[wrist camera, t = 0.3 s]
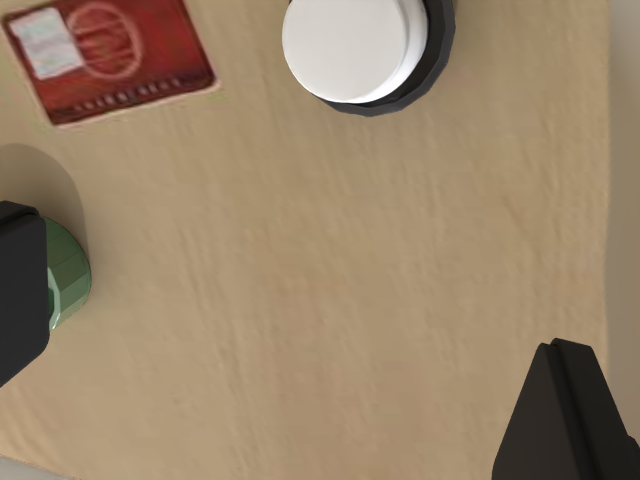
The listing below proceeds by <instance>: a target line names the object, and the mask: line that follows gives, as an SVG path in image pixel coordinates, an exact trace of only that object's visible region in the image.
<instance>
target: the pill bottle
mask: <svg viewBox="0 0 640 480" xmlns="http://www.w3.org/2000/svg"><path fill="white" fill-rule="evenodd" d="M429 27H430V24H429V14H428V10H427V6H426V4H425V1H424V0H292V2H291V3H290V5H289V7H288V10H287V12H286V15H285V18H284V23H283V31H282V42H283V49H284V54H285V58H286V60H287V63H288V65H289V67H290V69H291V71H292V73H293V74H294V76H295V77H296V78H297V80H298V81H299V82H300V83H301V84H302V85H303V86H304V87H305V88H306V89H307V90H309V91H310V92H312V93H313V94H315V95H316V96H319V97H321V98H323V99H326V100H329V101H334V102H350V103H363V102H369V101H373V100H376V99H379V98H381V97H384V96H386V95H387V94H389V93H391V92H392V91H394V90H395V89H396V88H397V87H399V86H400V85H401V84H402V83H403V82H404V81H405V80H406V79H407V77H408V76H409V75H410V74H411V72H412V71H413V69H414V68H415V66H416V65H417V63H418V62H419V61H420V59H421V57H422V55H423V54H424V51H425V49H426V46H427V42H428V38H429Z"/></svg>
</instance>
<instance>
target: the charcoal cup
mask: <svg viewBox="0 0 640 480" xmlns="http://www.w3.org/2000/svg"><path fill="white" fill-rule="evenodd" d="M424 1H425V4H426V6H427V10H428V14H429V24H430V27H429V38H428V42H427V46H426V49H425V51H424V54H423V55H422V57H421V59H420V61H419V62H418V63H417V65H416V66H415V68H414V69H413V71H412V72H411V74H410V75H409V76H408V77H407V79H406V80H405V81H404V82H403V83H402V84H401V85H400V86H399V87H397V88H396V89H395V90H394V91H392V92H391V93H389V94H387V95H386V96H384V97H381V98H379V99H376V100H373V101H369V102H363V103H350V102H334V101H329V100H326V99H323V98H321V97H319V96H316V95H315V94H313V93H312V92H311V93H312V94H313V95H314V96H315V97H317V98H318V99H320V100H321V101H323V102H324V103H326V104H327V105H329V106H330V107H332V108H333V109H335V110H336V111H339V112H343V113H348V114H353V115H358V116H363V117H374V116H379V115H384V114H389V113H393V112H398V111H401V110H402V109H404V108H405V107H407V106H408V105H410V104H411V103H413V102H414V101H416V100H417V99H419V98H420V97H422V96H423V95H425V94H426V93H427V92H428V91H429V90H430V88H431V87H432V85H433V84H434V83H435V81H436V80H437V78H438V77H439V75H440V74H441V72H442V71H443V69H444V68H445V67H446V65H447V63H448V59H449V55H450V51H451V47H452V42H453V38H454V34H455V27H456V26H455V19H454V13H453V6H452V0H424ZM291 2H292V0H290V1H289V5H290V3H291Z"/></svg>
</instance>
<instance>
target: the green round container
mask: <svg viewBox="0 0 640 480" xmlns="http://www.w3.org/2000/svg"><path fill="white" fill-rule="evenodd" d="M40 217H42V216H40ZM42 218H43V219H44V220H45V222H46V233H47V265H48V297H49V329H50V331H52V330H53V329H54V328H56V327H57V326H58V325H59V324H61V323H62V322H63V321H64V320H66V319H67V318H68V317H69V316H71V315H72V314H73V313H74V312H76V311H77V310H78V309H79V308H80V307H81V306H82V305H83V303H84V302H85V300H86V299H87V297H88V294H89V291H90V286H91V273H90V268H89V264H88V261H87V258H86V256H85V254H84V252H83V250H82V249H81V247H80V245H79V244H78V243H77V241H76V240H75V239H74V238H73V237H72V235H71V234H70V233H69V232H67V231H66V230H65V229H64V228H63V227H61V226H60V225H59V224H57V223H55V222H54V221H52V220H50V219H47V218H45V217H42Z"/></svg>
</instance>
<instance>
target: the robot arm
mask: <svg viewBox="0 0 640 480" xmlns="http://www.w3.org/2000/svg"><path fill="white" fill-rule="evenodd" d="M49 336H50V329H49V297H48V265H47V233H46V222H45V220H44V219H43V218H42V217H40V214H39V212H38V210H36V209H35V208H34V207H29V206H25V205H21V204H17V203H13V202H9V201H1V202H0V388H1V387H2V386H3V385H4V384H5V383H7V382H8V381H9V380H10V379H11V378H13V377H14V376H15V375H16V374H17V373H19V372H20V371H21V370H22V369H23V368H25V367H26V366H27V365H28V364H29V363H31V362H32V361H33V360H34V359H35V358H37V357H38V356H39V355H40V354H41V353H42V352H43V351H44V350H45V348H46V346H47V344H48V341H49ZM0 480H81V479H77V478H74V477H71V476H68V475H65V474H61V473H58V472H55V471H52V470H49V469H45V468H42V467H39V466H36V465H33V464H30V463H26V462H23V461H20V460H17V459H14V458H10V457H7V456H4V455H1V454H0ZM492 480H640V447H639V446H638V444H637V442H636V441H635V439H634V438H632V437H631V436H629V435H628V434H627V432H626V429H625V427H624V424H623V422H622V420H621V417H620V415H619V412H618V410H617V407H616V405H615V402H614V400H613V398H612V395H611V393H610V390H609V388H608V385H607V383H606V380H605V378H604V375H603V373H602V371H601V368H600V366H599V363H598V361H597V358H596V356H595V354H594V351H593V349H592V348H591V346H587V345H583V344H579V343H575V342H571V341H567V340H563V339H559V338H555V339H553V340H552V342H551V343H550V345H549V344H545V343H541V344H540V345H539V346H538V348H537V350H536V353H535V355H534V358H533V361H532V363H531V366H530V369H529V371H528V374H527V377H526V379H525V382H524V384H523V387H522V390H521V392H520V395H519V398H518V400H517V403H516V406H515V408H514V411H513V414H512V416H511V419H510V421H509V424H508V427H507V429H506V432H505V435H504V437H503V440H502V443H501V445H500V448H499V450H498V453H497V456H496V458H495V461H494V465H493V470H492Z"/></svg>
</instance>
